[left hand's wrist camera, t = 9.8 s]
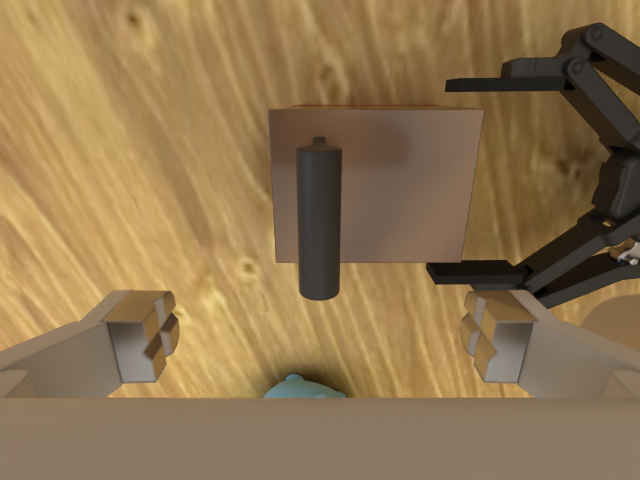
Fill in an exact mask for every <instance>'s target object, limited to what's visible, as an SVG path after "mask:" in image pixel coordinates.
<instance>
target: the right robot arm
mask: <svg viewBox="0 0 640 480" xmlns="http://www.w3.org/2000/svg"><path fill="white" fill-rule="evenodd" d="M561 44H562V47H561V48H560V50H559V52H558V53H557V54H556V55H555V56H554V57H553V58H518V59H513V60H509V61H507V62H505V63H503V64H502V70H501V76H500V78H459V79H451V80H446V88H445V92H487V91H560V92H561V94H562V95H563V96H564V97H565V98H566V99H567V100H568V101H569V103H570V104H571V105H572V106H573V107H574V108H575V109H576V110H577V112H578V113H579V114H580V115H581V116H582V117H583V118H584V119H585V121H586V122H587V123H588V124H589V125H590V126H591V127H592V128H593V130H594V131H595V132H596V133H597V134H598V135H599V136H600V138H599V141H600V142H601V143H602V144H603V145H604V147H605V148H606V149H607V150H608V151H609V152H610V153H611V154H612V155H611V156H610V157H609V159H608V160H607V162H602V165H601V169H600V172H599V185H598V187H597V188H596V190H595V192H594V194H593V198H592V202H591V203H592V204H595V208H594V209H592V210H591V211H589V212H588V213H586V214H585V215H583V216H582V217H580V218H579V219H578V220H577V225H575V226H574V227H572V228H571V229H569V230H568V231H566V232H565V233H563V234H562V235H560V236H559V237H557V238H556V239H554V240H553V241H551V242H550V243H548V244H547V245H545V246H544V247H542V248H541V249H539V250H538V251H536V252H535V253H533V254H532V255H530V256H529V257H527V258H526V259H524V260H523V261H522V262H520V263H519V264H517V265H516V266H514V267H513V266H512V265H511V264H510V263H509V262H508V261H507V260H462V261H461V263H427V264H426V270H427V271H428V273H429V275H430V276H431V278H432V280H433V281H434V283H435V284H470V286H471V287H472V288H473V289H474V291H495V290H525V291H528V292H529V293H530V294H531V295H533V296H534V297H535V298H536V299H537V300H538V301H539V302H540V303H541V304H542V305H543V306H544V307H545V308H547V309H550V308H552V307H555V306H557V305H560V304H562V303H565V302H567V301H570V300H572V299H575V298H578V297H580V296H583V295H585V294H588V293H590V292H593V291H595V290H598V289H600V288H603V287H606V286H608V285H611V284H613V283H616V282H618V281H621V280H627V279H636V278H640V123H639V122H638V120H637V119H636V118H635V117H634V116H633V114H632V113H631V112H630V111H629V110H628V108H627V107H626V106H625V105H624V104H623V103H622V101H621V100H620V99H619V98H618V97H617V95H616V94H615V93H614V92H613V91H612V89H611V88H610V87H609V86H608V85H607V84H606V82H605V81H604V80H603V79H602V78H601V76H600V75H599V74H598V73H597V72H596V70H595V69H594V68H596V69H597V70H599V71H601V72H602V73H604V74H605V75H607V76H609V77H610V78H612V79H613V80H615V81H617V82H618V83H620V84H621V85H623V86H625V87H626V88H628V89H629V90H631V91H633V92H634V93H636V94H638V95H639V96H640V47H638V46H637V45H635V44H634V43H632V42H630V41H629V40H627V39H626V38H624V37H623V36H621V35H620V34H618V33H617V32H615V31H614V30H612V29H610V28H609V27H607V26H606V25H604V24H602V23H594V24H591V25H587V26H583V27H579V28H576V29H572V30H569V31H567V32H566V33H565V34H564V35H563V37H562V40H561ZM593 67H594V68H593ZM605 221H607V222H608V223H609V224H610V225H611V226H610V227H609V226H606V225H603V224H602V223H603V222H605ZM625 240H626V242H625V243H624V244H623V245H621V246H619V247H616V248H615V247H610V248H609V249H608V252H607V253H602V254H598V255H595V256H592V255H594V254H595V253H597V252H599V251H600V250H602V249H603V248H605V247H608V246H617V245H619V244H620V243H622V242H623V241H625ZM591 256H592V257H591Z"/></svg>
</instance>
